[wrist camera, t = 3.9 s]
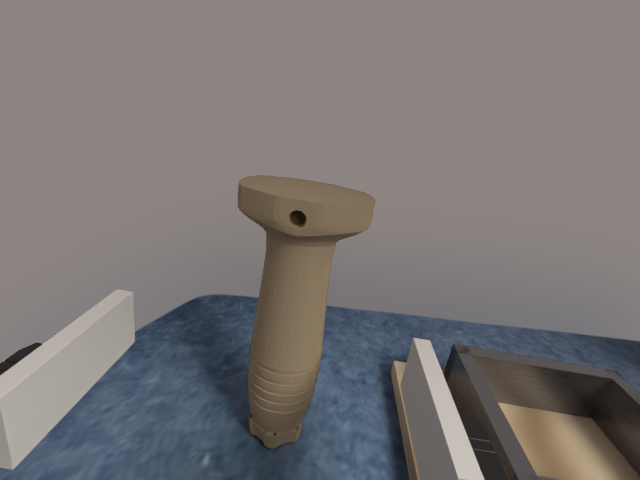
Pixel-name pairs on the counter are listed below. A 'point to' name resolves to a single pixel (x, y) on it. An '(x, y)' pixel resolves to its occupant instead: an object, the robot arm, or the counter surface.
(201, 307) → the counter surface
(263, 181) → the handle
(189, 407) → the counter surface
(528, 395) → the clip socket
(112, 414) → the counter surface
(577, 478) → the mounting plate
